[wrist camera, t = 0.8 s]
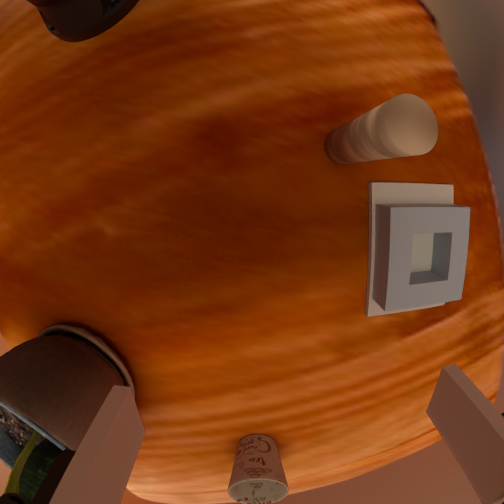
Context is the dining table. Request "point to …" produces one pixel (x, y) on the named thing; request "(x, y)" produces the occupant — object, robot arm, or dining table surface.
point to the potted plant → (52, 399)
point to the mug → (257, 472)
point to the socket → (414, 247)
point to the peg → (385, 132)
